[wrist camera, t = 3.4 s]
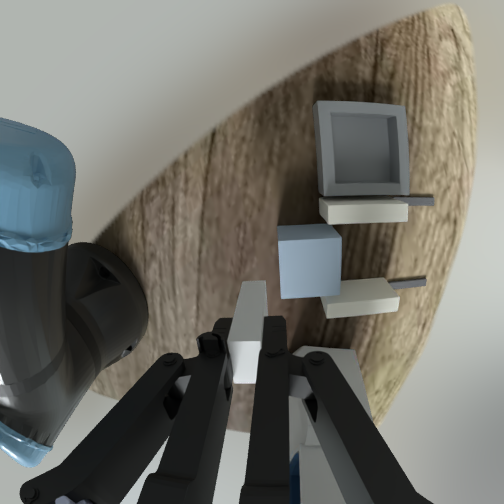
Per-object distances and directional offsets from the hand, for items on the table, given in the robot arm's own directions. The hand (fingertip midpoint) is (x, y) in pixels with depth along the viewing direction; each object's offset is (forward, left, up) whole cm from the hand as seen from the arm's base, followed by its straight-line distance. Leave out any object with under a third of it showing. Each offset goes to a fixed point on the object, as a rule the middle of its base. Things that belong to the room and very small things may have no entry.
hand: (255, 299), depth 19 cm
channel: (+9, 0, -9) cm, 13 cm away
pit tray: (+10, +10, -9) cm, 16 cm away
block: (+4, 0, -9) cm, 10 cm away
